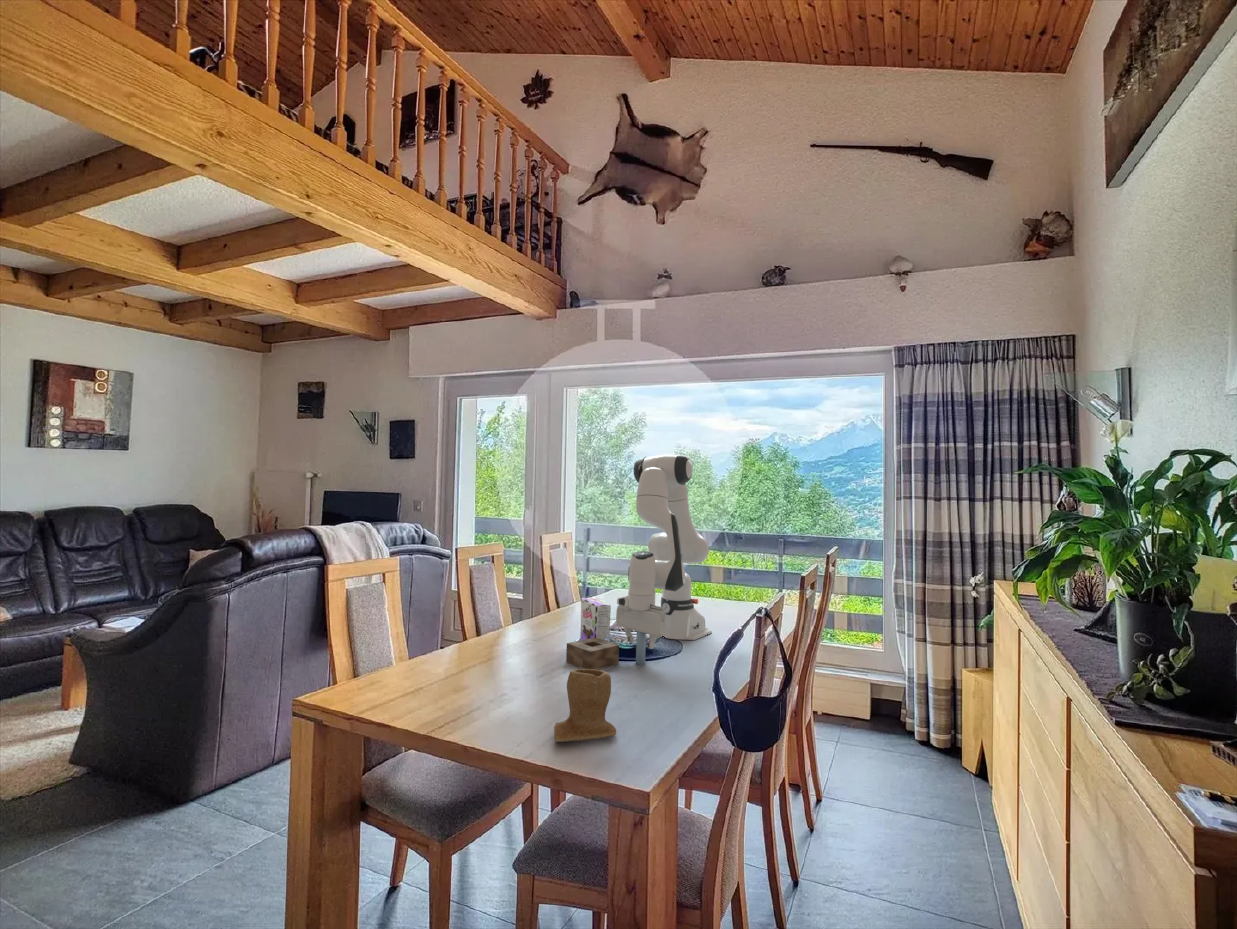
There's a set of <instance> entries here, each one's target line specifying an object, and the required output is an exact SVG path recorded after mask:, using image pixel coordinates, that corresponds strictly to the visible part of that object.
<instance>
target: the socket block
mask: <svg viewBox="0 0 1237 929" xmlns="http://www.w3.org/2000/svg"><path fill="white" fill-rule="evenodd" d="M619 656H620V645H619V644H617V643H613V642H611V641H609V642H608V641H605V640H602V639H598V638H595V637H594V638H589V639H585V640H577V641H571V642H570V641H569V642H567V643H566V657H565V662H566V663H567V664H571V665H573V666H576V667H578V668H580V669H596V670H601V669H603V668H607V667H608V668H609V667H611V665H612V666H615V665H619V660H620V659H619V658H620V657H619Z"/></svg>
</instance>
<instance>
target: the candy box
mask: <svg viewBox="0 0 1237 929" xmlns="http://www.w3.org/2000/svg"><path fill="white" fill-rule="evenodd" d="M580 600H581V601H580V636H579V638H580V640H585V639H589V638H594V637H595V638H598V639H602V640H605V638H606V637H607V635H609V634H610V632H611V606H612V605H611V604H610V603H607V602H606V601H603V600H601V599H599V598H598V597H595V596H594V597H593V596H592V597H582V598H581V599H580ZM580 640H579V641H580ZM605 641H607V640H605Z"/></svg>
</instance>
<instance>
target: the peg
mask: <svg viewBox="0 0 1237 929" xmlns="http://www.w3.org/2000/svg"><path fill="white" fill-rule="evenodd" d="M635 642H636V644H635V664H636V665H640V666H642V665H645V664H646V648H647V647H646V646H647V634H645V633H642V632H638V631H636V641H635Z"/></svg>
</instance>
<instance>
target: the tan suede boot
mask: <svg viewBox="0 0 1237 929" xmlns="http://www.w3.org/2000/svg"><path fill="white" fill-rule="evenodd" d="M566 692H567V699H568V705H569V706H568V707H569V716H568V717H567V719H565V720H563V721H560V722H556V723H555V724H554V727H553V729H554V730H553V732H554V734H553V736H554V737H553V738H554V742H555V743H564V742H565V743H566V742H580V741H581V742H582V741H589V740H599V739H604V738H605V739H606V738H611V737H614V736H616V735H617V729H616V727H615V726H614V725H613V724H612V723H610V721H608V720H606V713H607V712H606V711H607V708H608V705H609V701H610V698H611V693H612V680H611V675H610V673H608V672H607V671H604V670H601V669H584V668H578V669H573V670H570V671H569V674H568V676H567V682H566Z"/></svg>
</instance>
